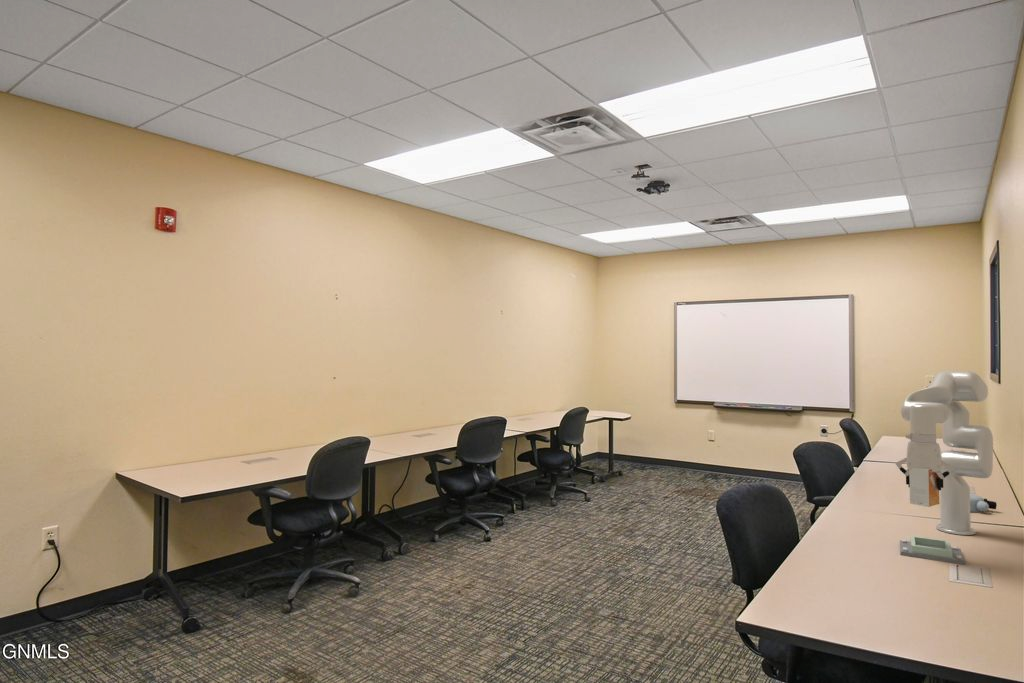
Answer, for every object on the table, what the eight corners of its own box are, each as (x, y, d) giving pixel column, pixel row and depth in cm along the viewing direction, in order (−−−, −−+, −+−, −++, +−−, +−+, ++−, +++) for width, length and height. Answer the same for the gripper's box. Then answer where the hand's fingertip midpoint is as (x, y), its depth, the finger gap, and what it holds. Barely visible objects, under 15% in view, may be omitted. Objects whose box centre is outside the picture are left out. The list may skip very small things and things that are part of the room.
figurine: (941, 509, 265) (998, 520, 255) (943, 490, 265) (1000, 501, 254) (938, 501, 280) (991, 511, 269) (940, 484, 280) (993, 493, 269)
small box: (929, 507, 203) (928, 469, 203) (909, 503, 209) (908, 466, 209) (940, 504, 208) (939, 467, 208) (920, 500, 213) (919, 464, 213)
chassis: (899, 543, 218) (899, 533, 218) (960, 552, 208) (960, 541, 208) (900, 554, 205) (900, 544, 205) (965, 564, 195) (964, 553, 195)
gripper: (893, 438, 210) (895, 487, 210) (954, 442, 201) (955, 493, 200) (894, 435, 217) (895, 483, 216) (953, 439, 207) (954, 489, 206)
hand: (924, 487), depth 208 cm, fingers closed on small box, 8 cm apart
